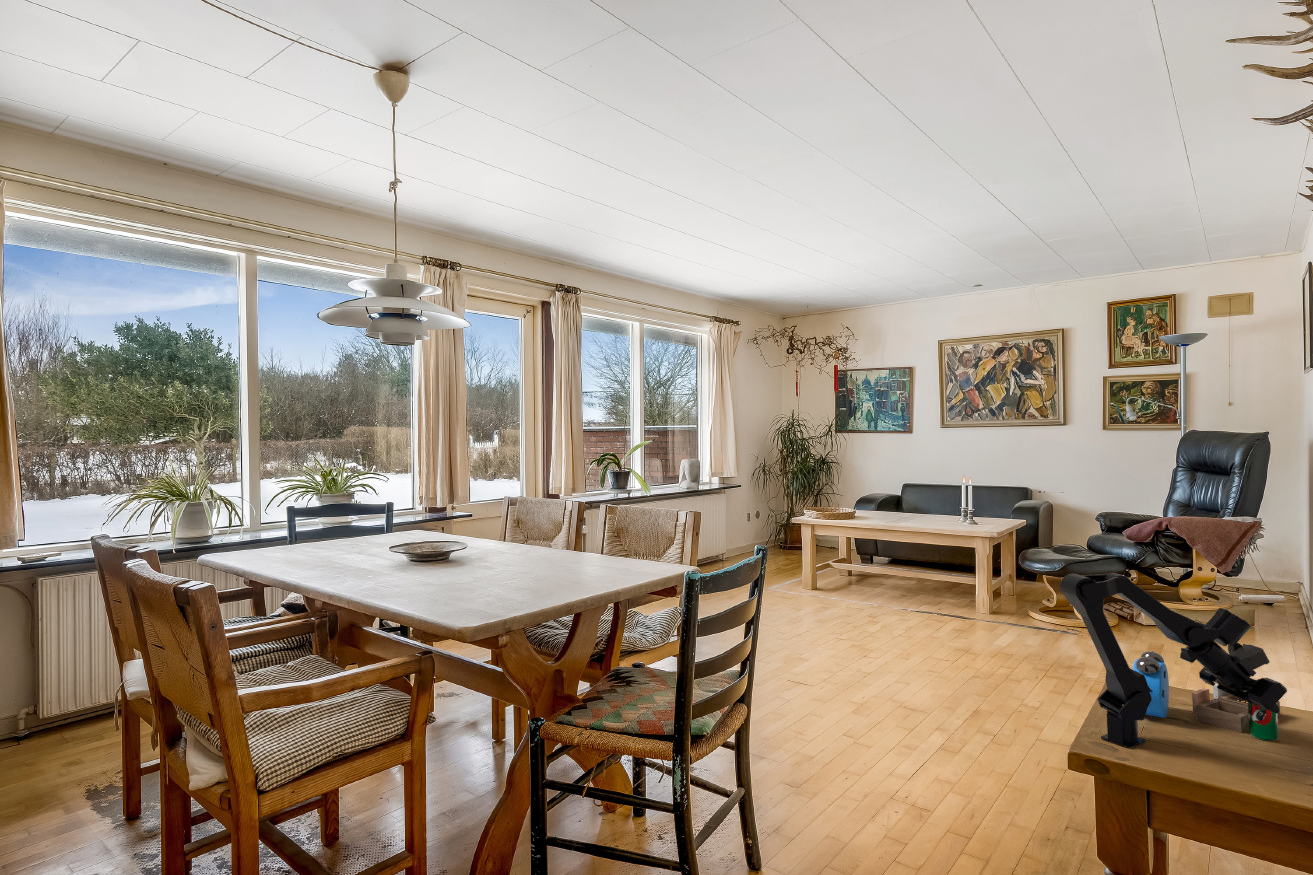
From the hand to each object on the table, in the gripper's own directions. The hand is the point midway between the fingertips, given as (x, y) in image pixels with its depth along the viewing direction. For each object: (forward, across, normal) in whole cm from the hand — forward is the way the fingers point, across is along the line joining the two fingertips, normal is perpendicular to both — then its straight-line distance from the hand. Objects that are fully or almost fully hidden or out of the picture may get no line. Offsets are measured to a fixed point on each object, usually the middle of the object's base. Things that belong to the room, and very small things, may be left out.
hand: (1268, 707), depth 159 cm
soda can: (+4, 0, +6) cm, 7 cm away
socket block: (+6, +11, +3) cm, 13 cm away
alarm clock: (-7, +15, +16) cm, 23 cm away
